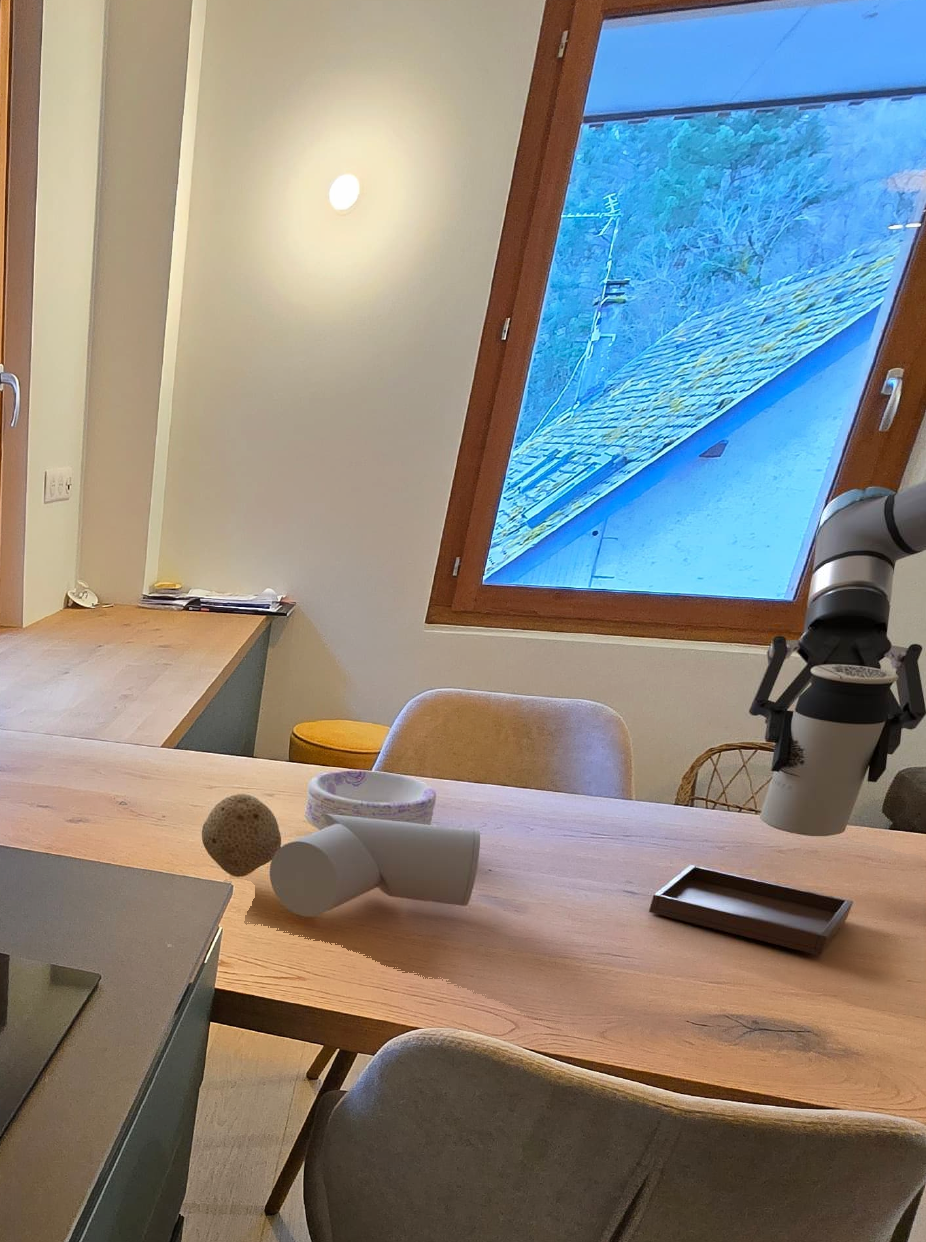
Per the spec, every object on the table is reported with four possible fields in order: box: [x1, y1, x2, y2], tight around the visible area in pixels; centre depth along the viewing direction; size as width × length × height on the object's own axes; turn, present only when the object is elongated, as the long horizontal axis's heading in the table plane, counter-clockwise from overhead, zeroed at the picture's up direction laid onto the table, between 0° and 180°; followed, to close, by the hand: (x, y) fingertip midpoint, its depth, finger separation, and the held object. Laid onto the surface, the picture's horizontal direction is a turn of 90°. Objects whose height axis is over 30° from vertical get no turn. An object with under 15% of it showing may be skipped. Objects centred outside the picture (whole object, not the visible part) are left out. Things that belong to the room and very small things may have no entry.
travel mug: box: [759, 664, 898, 837], centre depth 117 cm, size 8×8×18 cm
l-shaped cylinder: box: [269, 814, 481, 918], centre depth 115 cm, size 18×11×20 cm
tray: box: [648, 864, 854, 956], centre depth 114 cm, size 15×14×2 cm
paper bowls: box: [304, 769, 437, 831], centre depth 134 cm, size 15×15×8 cm
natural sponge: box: [201, 793, 282, 878], centre depth 123 cm, size 9×9×10 cm
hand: (826, 770), depth 116 cm, fingers closed on travel mug, 8 cm apart
